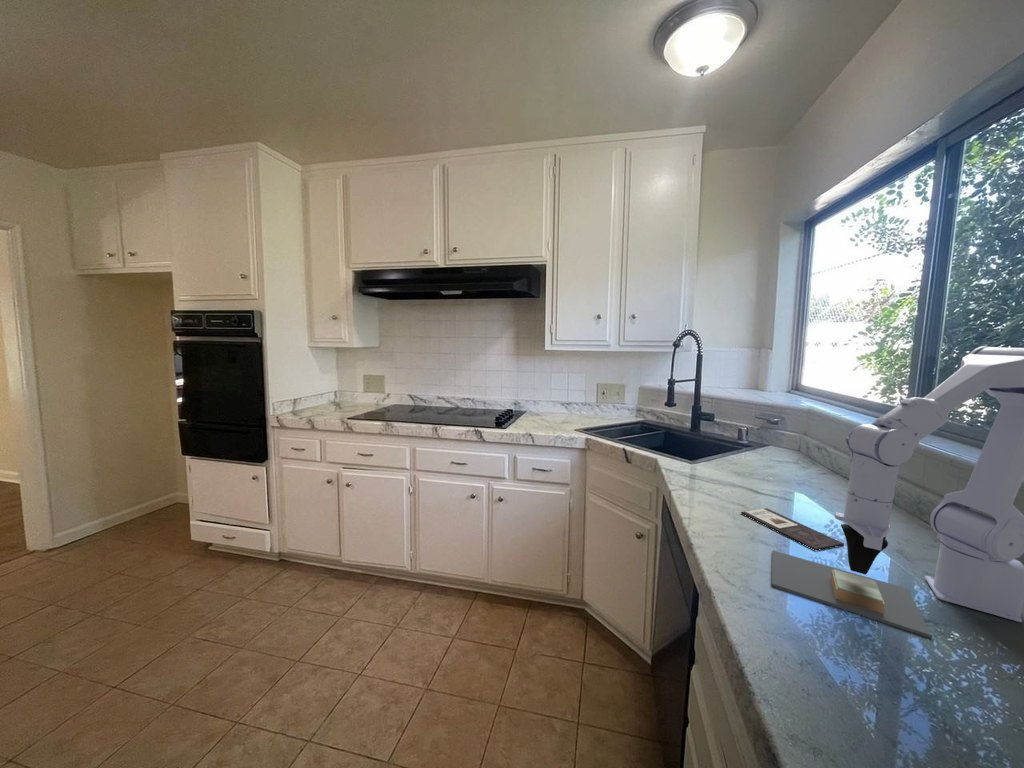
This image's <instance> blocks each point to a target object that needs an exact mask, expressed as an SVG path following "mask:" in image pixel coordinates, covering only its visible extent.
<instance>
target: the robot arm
mask: <svg viewBox="0 0 1024 768" xmlns="http://www.w3.org/2000/svg"><path fill="white" fill-rule="evenodd" d="M982 393H986V394H987V395H989V396H991V397H993V398H995V399H996V401H997V402H998V403H999V404H1000V406H999V410H998V412H997V415H996V417H995V420H994V421H993V423H992V426H991V428H990V430H989V433H988V435H987V438H986V441H985V442H984V445H983V446H982V450H980V451H981V452H980V454H979V457H978V459H977V461H976V463H975V466H974V467H973V471H972V473H971V475H970V478H969V480H968V482H967V484H966V486H965V489H963V490H958V491H953V492H950V493H949V492H948V493H946V494H944V496H943V498H942V500H941V502H940V503H939V504H938V505H937V506H936V507H935V508H934V509H933V511H932V512H931V514H930V518H929V520H930V521H929V522H930V526H931V529H932V530H933V531H934V532H935V533H936V539H938V540H939V541H940V546H939V551H938V557H937V562H936V566H935V567H936V568H935V572H934V577H933V576H931V575H930V576H929V575H924V579H925V580H926V582H927V584H928V586H929V587H930V588H931V590H932V592H933V593H934V595H935V597H936V598H937V599H938V600H941V601H945V602H948V603H952V604H955V605H959V606H963V607H964V608H965V607H966V608H969V609H972V610H975V611H976V610H977V611H978V612H979V611H980V612H983V613H987V614H991V615H995V616H996V617H997V616H998V617H1000V618H1003V619H1008V620H1011V621H1014V622H1018V623H1022V622H1023V619H1022V617H1021V614H1022V610H1023V606H1024V605H1023V604H1024V564H1023V563H1022V562H1021V560H1018V558H1020V557H1021V556H1023V554H1024V514H1023V513H1022V511H1020V510H1019V509H1018V508H1017V507H1016V506H1015V505H1014V501H1015V499H1016V497H1017V494H1018V492H1019V490H1020V488H1021V486H1022V483H1023V481H1024V347H998V346H997V347H996V346H989V345H985V346H984V345H983V346H979V347H976V348H975V349H973V350H972V351H971V352H970V353H968V354H966V355H965V356H963V357H962V359H961V362H960V368H959V369H957V370H956V371H955V372H954V373H953V374H951V375H950V376H949V377H948V378H946V380H944V381H943V382H941V383H940V384H939V385H938V386H936V387H935V388H934V389H933V390H931V391H930V392H929V393H928V394H927V395H925V396H924V397H916V396H915V397H914V396H913V397H909V398H906V397H905V398H904V399H903V400H901V401H900V402H899V405H897V406H896V407H894V408H893V409H891V410H890V411H888V412H886V413H885V414H884V415H882V416H880V417H878V418H877V419H876V420H875V421H873V422H872V423H871V424H870V423H866V424H865V423H863V424H860V425H858V426H856V427H854V428H853V429H852V430H850V431H849V433H848V435H847V437H845V438H844V444H845V445H844V446H845V448H846V449H847V451H848V453H849V457H848V461H849V462H850V464H851V465H850V473H849V478H848V484H847V485H848V486H847V492H846V499H845V505H844V512H838V511H836V512H834V518H835V519H836V520H838V521H842V522H844V523H842V524H841V525H840V526H841V529H842V532H843V534H844V538H845V540H846V541H845V542H846V547H847V548H846V549H847V560H848V567H849V570H850V571H851V572H853V573H858V574H862V575H864V576H865V575H867V574H868V572H869V571H870V569H871V567H872V565H873V563H874V561H875V559H876V558H877V557H878V555H879V554H880V553H882V551H883V550H885V549H886V548H887V547H888V546H889V542H888V541H887V539H886V536H887V535H888V534H889V533H890V532H891V526H890V520H891V514H892V510H893V509H892V508H893V503H894V498H895V492H896V485H897V479H898V474H899V467H900V465H902V464H904V463H907V462H908V461H909V460H910V459H911V458H912V456H913V454H914V451H915V449H916V448H917V447H919V444H920V441H921V440H923V439H924V438H926V437H928V436H929V435H931V434H932V433H933V432H935V431H936V430H938V429H939V428H941V427H943V426H944V425H945V424H946V423H947V420H948V416H947V413H948V412H950V411H951V410H952V411H953V409H955V408H957V407H958V406H960V405H962V404H964V403H966V402H968V401H969V400H971V399H973V398H974V397H976V396H978V395H980V394H982ZM972 509H974V510H972ZM975 510H976V511H975ZM977 511H980V512H982V513H980V512H977ZM984 513H985V514H984ZM986 514H988V515H990V516H988V515H986Z"/></svg>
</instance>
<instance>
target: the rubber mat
mask: <svg viewBox="0 0 1024 768" xmlns="http://www.w3.org/2000/svg"><path fill="white" fill-rule="evenodd" d="M771 553H772V554H771V587H773V588H776V589H778V590H783V591H786V592H788V593H791V594H794V595H798V596H800V597H804V598H806V599H810V600H812V601H816V602H819V603H822V604H825V605H828V606H830V607H834V608H837V607H838V609H840V608H841V610H843V609H845V610H844V611H846V610H848V611H847V612H849V611H850V613H852V612H854V613H853V614H855V613H856V615H858V614H860V615H859V616H861V615H862V616H861V617H864V616H865V618H867V617H868V619H870V618H871V619H870V620H873V619H874V621H877V620H878V621H877V622H880V623H883V624H886V625H888V626H892V627H894V628H898V629H901V630H905V631H908V632H910V633H913V634H916V635H920V636H922V637H926V638H929V639H932V637H933V635H932V632H931V631H930V629H929V627H928V625H927V623H926V621H925V620H924V618H923V616H922V615H921V612H920V610H919V609H918V607H917V605H916V603H915V602H914V600H913V598H912V596H911V594H910V593H909V591H908V589H907V588H906V587H904V586H900V585H896V584H893V583H889V582H885V581H882V580H877V579H875V578H873V577H872V578H871V577H869V576H865V575H863V574H862V575H861V574H859V573H858V574H857V573H856V572H852V571H851V572H850V571H847V570H844V569H840V568H836V567H833V566H829V565H827V564H826V565H825V564H823V563H819V562H816V561H813V560H808V559H805V558H802V557H798V556H794V555H790V554H787V553H785V552H779V551H776V550H772V551H771ZM834 569H835V570H838V571H842V572H845V573H849V574H852V575H856V576H859V577H863V578H866V579H870V580H873V581H875V582H876V584H877V586H878V589H879V591H880V594H881V596H882V598H883V601H884V603H885V606H884V612H883V614H882V613H879V612H876V611H873V610H870V609H867V608H864V607H861V606H857V605H854V604H851V603H848V602H845V601H842V600H839V599H835V596H834V591H833V587H832V583H831V572H832V570H834Z"/></svg>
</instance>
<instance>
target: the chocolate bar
mask: <svg viewBox="0 0 1024 768" xmlns="http://www.w3.org/2000/svg"><path fill="white" fill-rule="evenodd" d="M741 513H742V514H744V515H746V516H748V517H750V518H752V519H754V520H756V521H758V522H760V523H762V524H764V525H766V526H768V527H770V528H772V529H774V530H776V531H778V532H779V533H778V532H777V533H778V534H780V533H781V534H780V535H782V534H783V535H782V536H784V535H786V536H787V538H788V537H789V538H788V539H790V538H791V539H790V540H792V539H793V540H792V541H794V540H795V541H794V542H796V541H797V542H796V543H798V542H800V543H801V544H800V543H799V544H800V545H802V544H804V545H806V546H808V547H810V548H812V549H814V550H819V549H824V550H826V549H825V548H829V549H831V548H830V547H835V546H840V547H844V546H845V543H844V542H842V541H840V540H838V539H835V538H833V537H831V536H829V535H827V534H825V533H822V532H819V531H818V530H815V529H814V528H811V527H808V526H807V525H804V524H803V523H800V522H798V521H795V520H793V519H791V518H789V517H787V516H785V515H783V514H780V513H778V512H776V511H774V510H772V509H769V508H761V509H760V508H758V509H754V510H753V509H752V510H746V511H745V510H744V511H741V512H740V514H741ZM742 514H741V515H742ZM744 515H743V516H744ZM746 516H745V517H746ZM748 517H747V518H748ZM750 518H749V519H750ZM752 519H751V520H752ZM754 520H753V521H754ZM756 521H755V522H756ZM758 522H757V523H758ZM760 523H759V524H760ZM762 524H761V525H762ZM764 525H763V526H764ZM766 526H765V527H766ZM768 527H767V528H768ZM770 528H769V529H770ZM772 529H771V530H772ZM774 530H773V531H774ZM776 531H775V532H776ZM786 536H785V537H786ZM804 545H803V546H804ZM843 545H844V546H843ZM806 546H805V547H806ZM808 547H807V548H808ZM810 548H809V549H810ZM835 548H836V547H835ZM812 549H811V550H812ZM814 550H813V551H814ZM819 551H820V550H819Z"/></svg>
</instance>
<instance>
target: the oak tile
mask: <svg viewBox="0 0 1024 768" xmlns="http://www.w3.org/2000/svg"><path fill="white" fill-rule="evenodd" d="M831 583H832V587H833V591H834V596H835V599H839V600H842V601H845V602H848V603H851V604H854V605H857V606H861V607H864V608H867V609H870V610H873V611H876V612H879V613H882V614H883V612H884V606H885V603H884V601H883V598H882V596H881V594H880V591H879V589H878V586H877V584H876V582H875V581H873V580H870V579H866V578H863V577H859V576H856V575H852V574H849V573H845V572H842V571H838V570H835V569H834V570H832V572H831Z"/></svg>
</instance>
